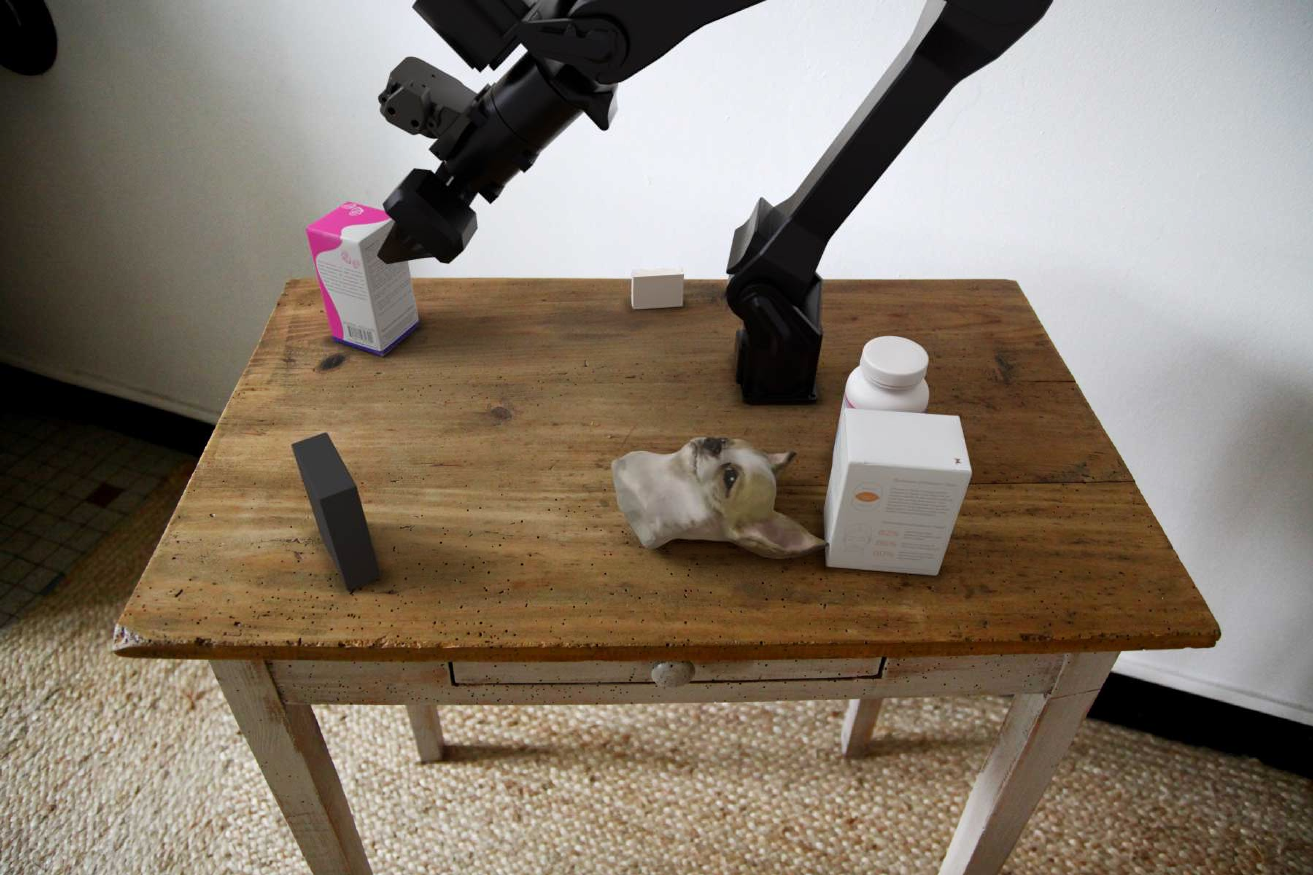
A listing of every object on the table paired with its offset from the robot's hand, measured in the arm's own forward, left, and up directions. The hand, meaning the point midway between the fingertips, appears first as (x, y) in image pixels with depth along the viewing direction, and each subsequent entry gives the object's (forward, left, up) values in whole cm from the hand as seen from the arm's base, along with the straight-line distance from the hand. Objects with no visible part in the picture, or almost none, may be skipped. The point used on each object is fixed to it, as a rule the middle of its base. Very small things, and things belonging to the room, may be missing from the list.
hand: (403, 230), depth 77 cm
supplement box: (+4, -1, -11) cm, 12 cm away
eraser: (-22, -6, -11) cm, 25 cm away
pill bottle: (-38, +17, -11) cm, 43 cm away
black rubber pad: (+1, +26, -11) cm, 28 cm away
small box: (-37, +25, -11) cm, 46 cm away
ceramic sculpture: (-25, +23, -11) cm, 36 cm away
